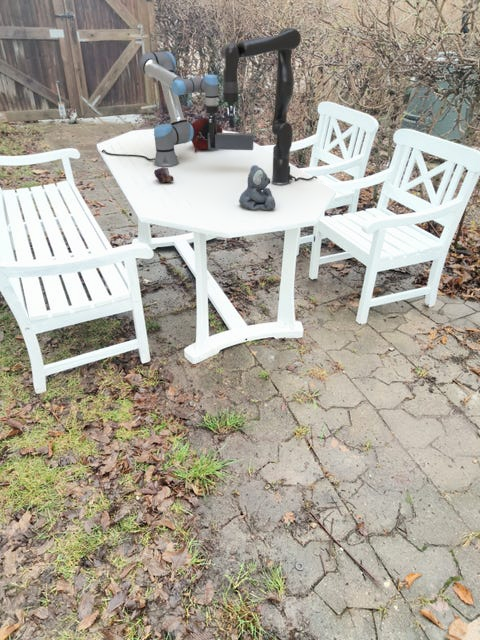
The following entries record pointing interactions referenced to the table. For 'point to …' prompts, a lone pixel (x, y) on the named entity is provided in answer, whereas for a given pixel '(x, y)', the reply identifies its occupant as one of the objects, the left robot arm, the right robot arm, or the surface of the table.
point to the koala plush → (257, 191)
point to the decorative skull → (202, 133)
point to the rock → (163, 175)
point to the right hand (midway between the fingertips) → (231, 125)
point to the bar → (232, 141)
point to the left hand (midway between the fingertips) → (213, 146)
